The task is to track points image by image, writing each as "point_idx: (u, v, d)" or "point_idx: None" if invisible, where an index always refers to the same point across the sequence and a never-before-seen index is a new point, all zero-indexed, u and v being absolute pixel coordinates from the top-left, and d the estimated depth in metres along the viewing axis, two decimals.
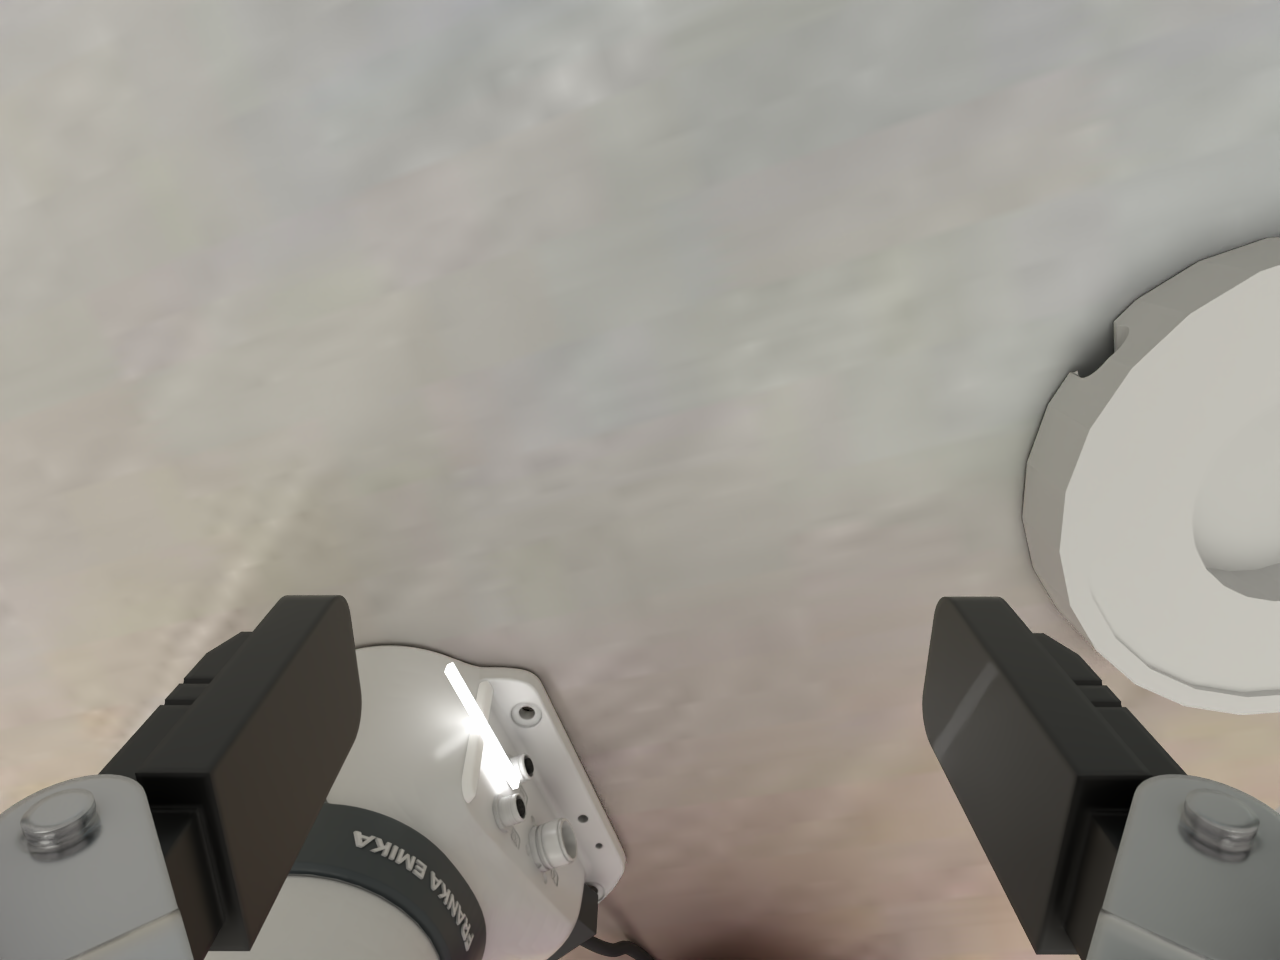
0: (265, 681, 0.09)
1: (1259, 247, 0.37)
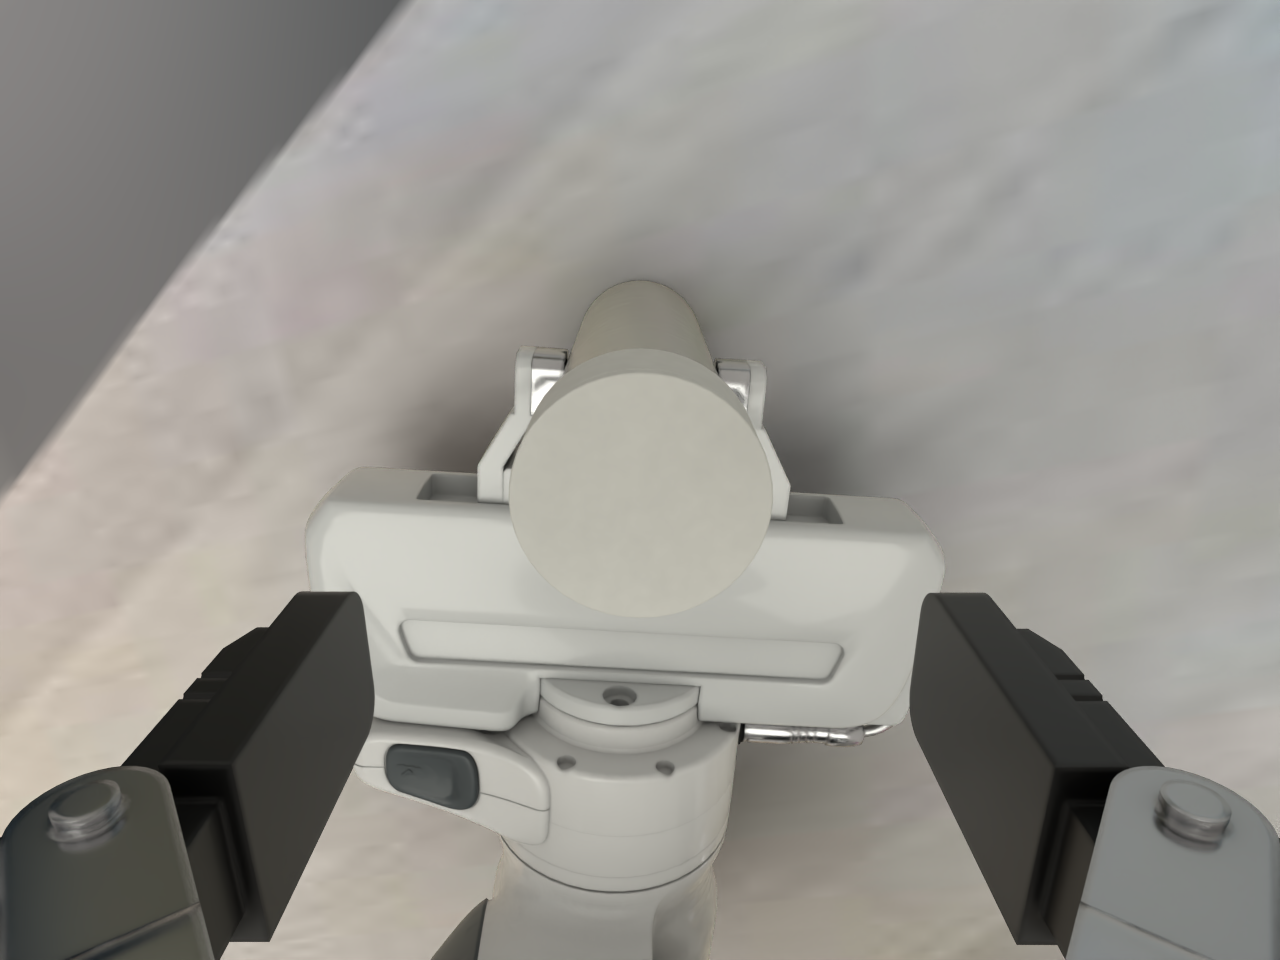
0: (283, 675, 0.09)
1: None
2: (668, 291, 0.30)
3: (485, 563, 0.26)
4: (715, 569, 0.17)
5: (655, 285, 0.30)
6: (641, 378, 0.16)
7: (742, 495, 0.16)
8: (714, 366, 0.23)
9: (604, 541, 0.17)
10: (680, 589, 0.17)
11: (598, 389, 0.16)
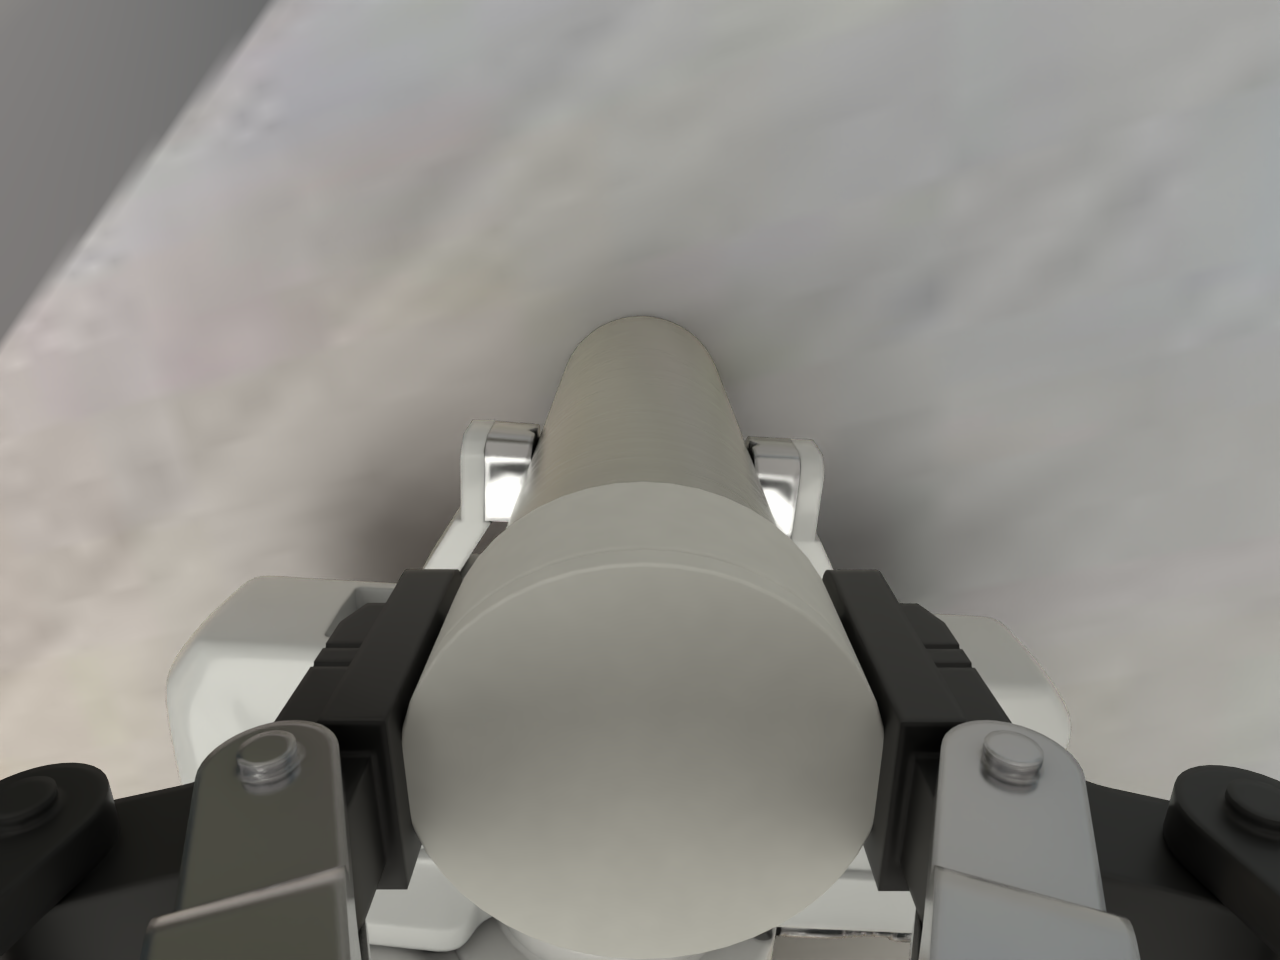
0: (411, 643, 0.10)
1: None
2: (679, 332, 0.22)
3: None
4: (777, 887, 0.09)
5: (661, 324, 0.22)
6: (644, 572, 0.08)
7: (830, 771, 0.09)
8: (751, 460, 0.16)
9: (577, 844, 0.09)
10: (713, 917, 0.10)
11: (562, 593, 0.08)
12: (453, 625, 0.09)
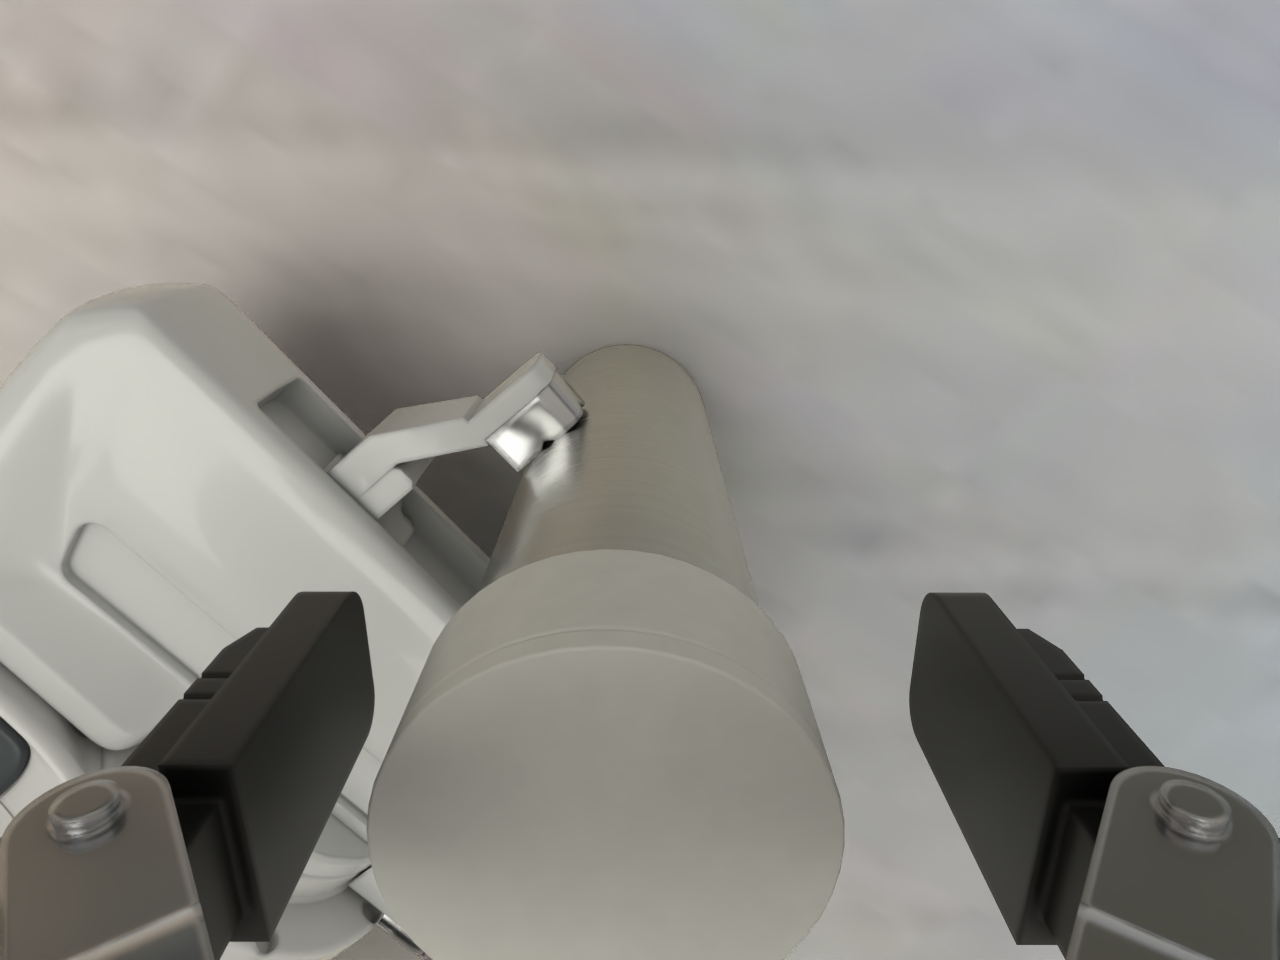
0: (283, 675, 0.09)
1: None
2: None
3: (271, 550, 0.17)
4: (783, 903, 0.09)
5: (697, 392, 0.23)
6: (503, 672, 0.08)
7: (772, 783, 0.09)
8: None
9: (578, 926, 0.09)
10: (740, 949, 0.10)
11: (440, 718, 0.08)
12: None
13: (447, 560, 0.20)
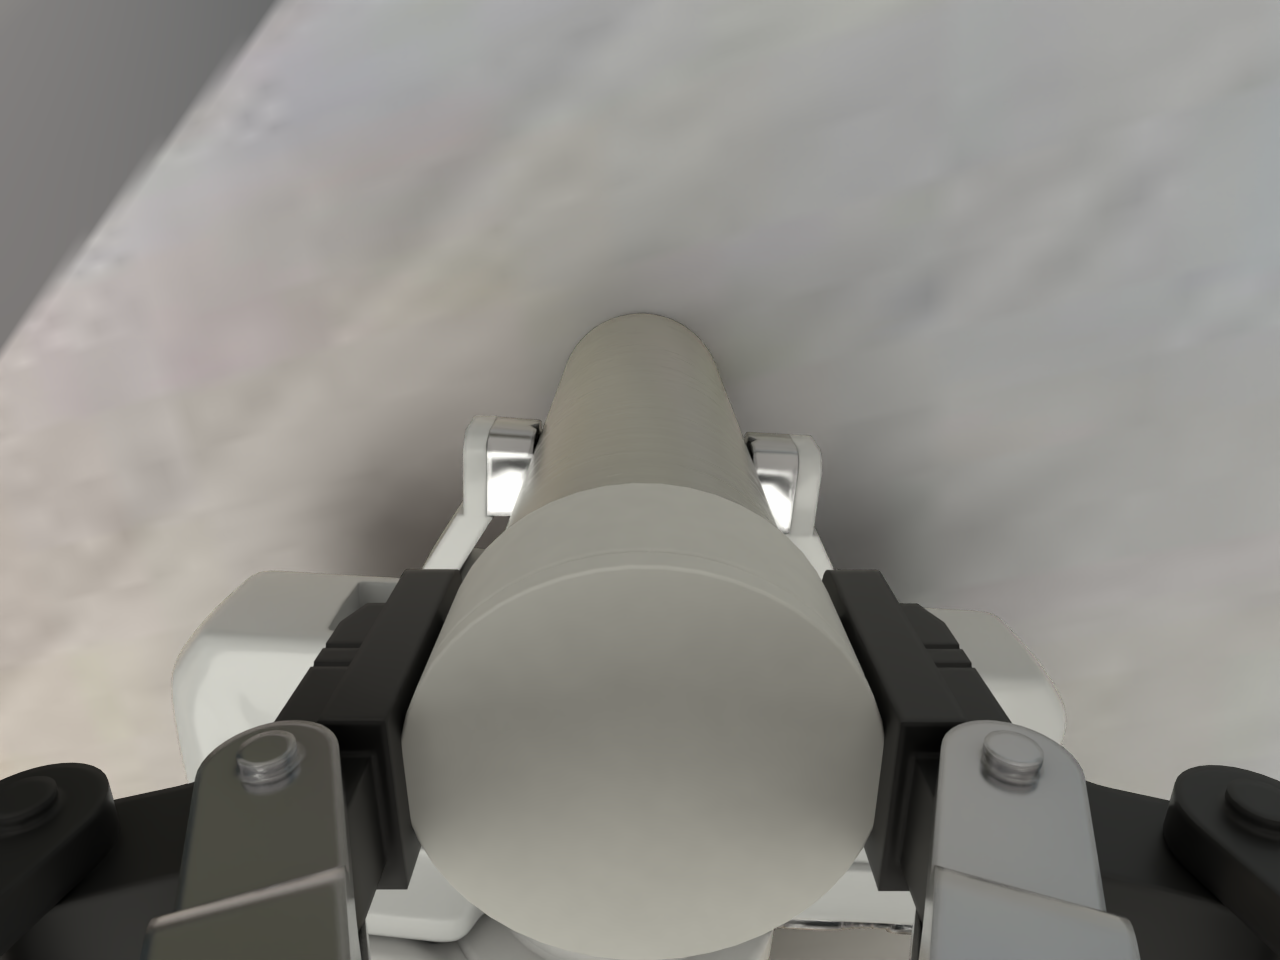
0: (412, 643, 0.10)
1: None
2: (678, 329, 0.22)
3: None
4: (827, 712, 0.09)
5: (661, 321, 0.23)
6: (419, 714, 0.09)
7: (697, 627, 0.08)
8: (749, 455, 0.16)
9: (692, 855, 0.09)
10: (839, 775, 0.09)
11: (416, 783, 0.09)
12: None
13: None
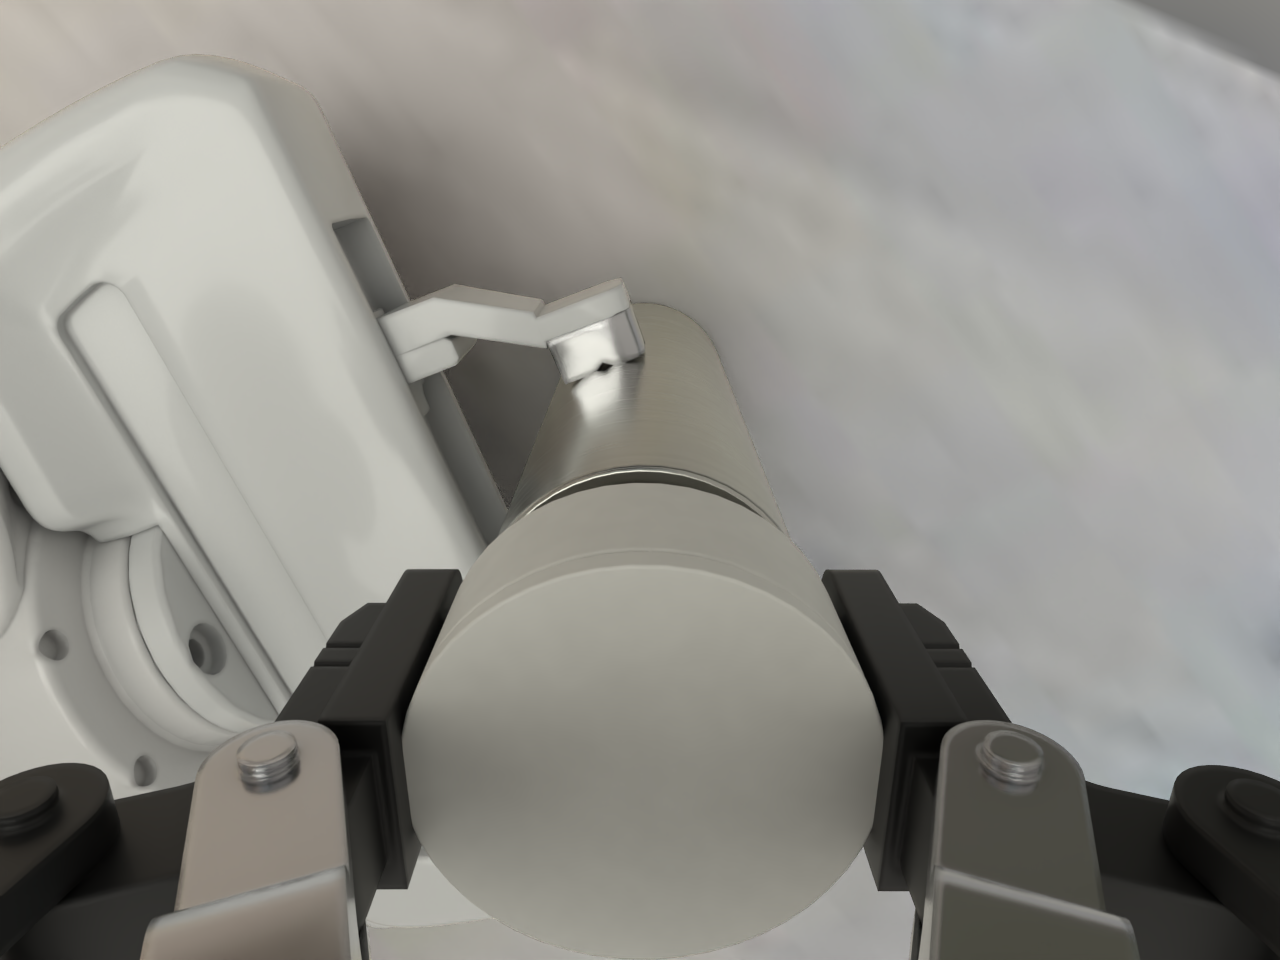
0: (412, 643, 0.10)
1: None
2: None
3: (293, 376, 0.16)
4: (826, 712, 0.09)
5: None
6: (419, 713, 0.09)
7: (697, 627, 0.08)
8: None
9: (691, 854, 0.09)
10: (838, 775, 0.09)
11: (416, 781, 0.09)
12: None
13: (446, 451, 0.19)
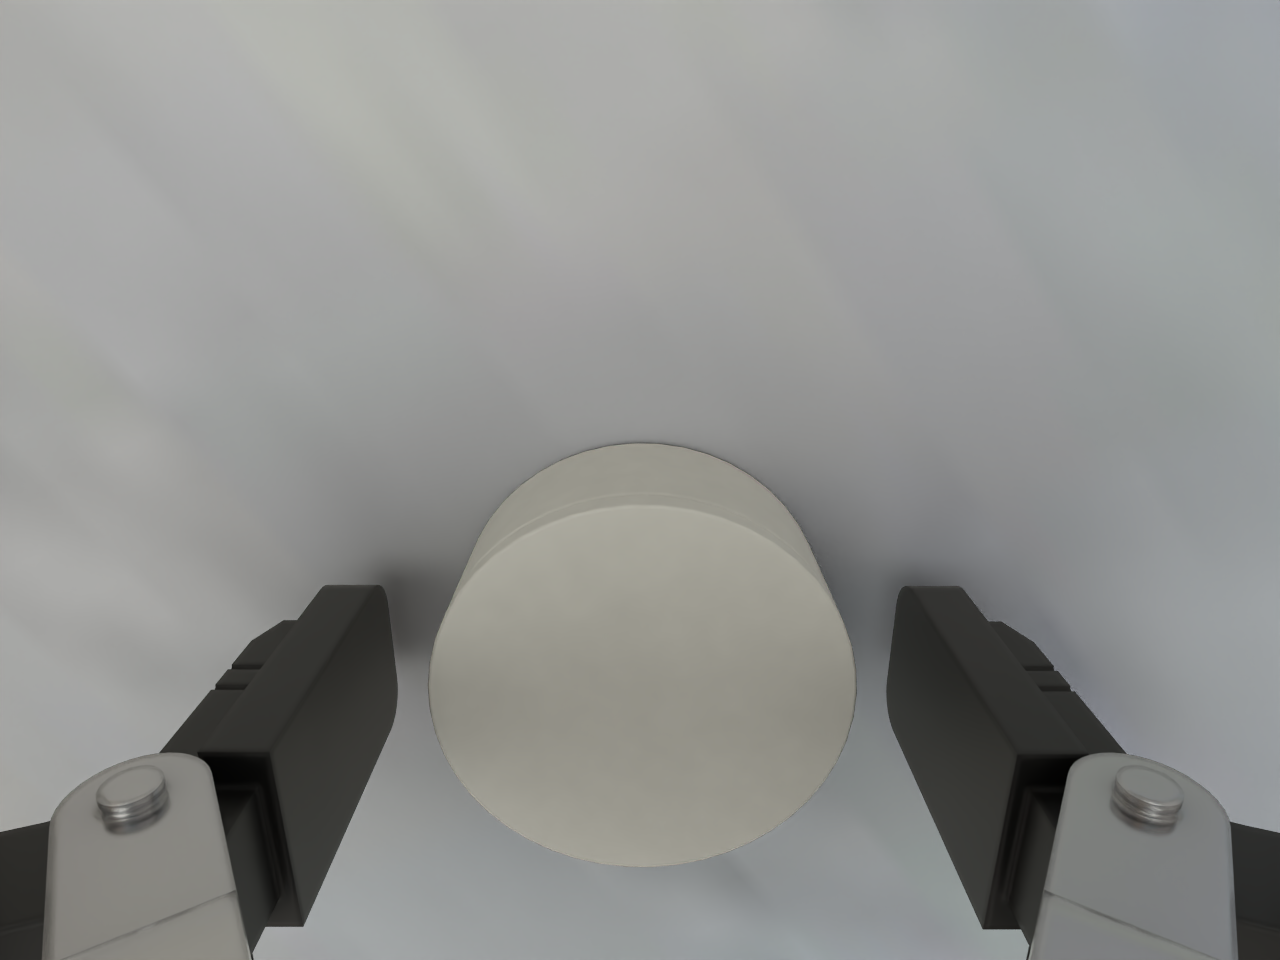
0: (314, 666, 0.09)
1: None
2: None
3: None
4: (803, 637, 0.10)
5: None
6: (446, 639, 0.10)
7: (689, 560, 0.09)
8: None
9: (685, 768, 0.10)
10: (814, 695, 0.10)
11: (443, 701, 0.10)
12: None
13: None
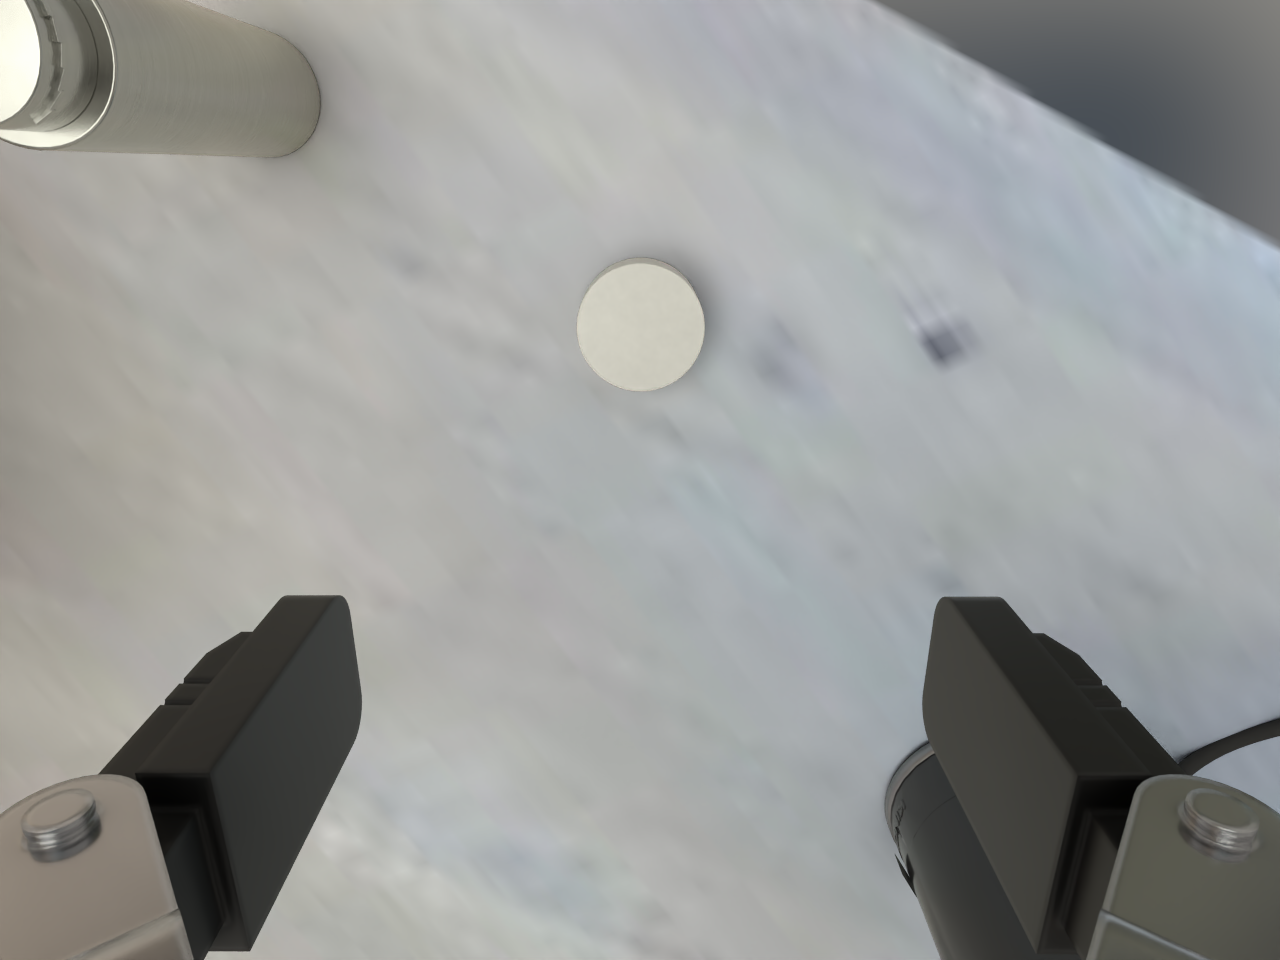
0: (265, 681, 0.09)
1: None
2: (308, 99, 0.32)
3: None
4: (687, 306, 0.34)
5: (309, 85, 0.32)
6: (583, 307, 0.34)
7: (654, 280, 0.33)
8: (204, 129, 0.25)
9: (654, 352, 0.34)
10: (692, 326, 0.34)
11: (581, 328, 0.34)
12: None
13: None
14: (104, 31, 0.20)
